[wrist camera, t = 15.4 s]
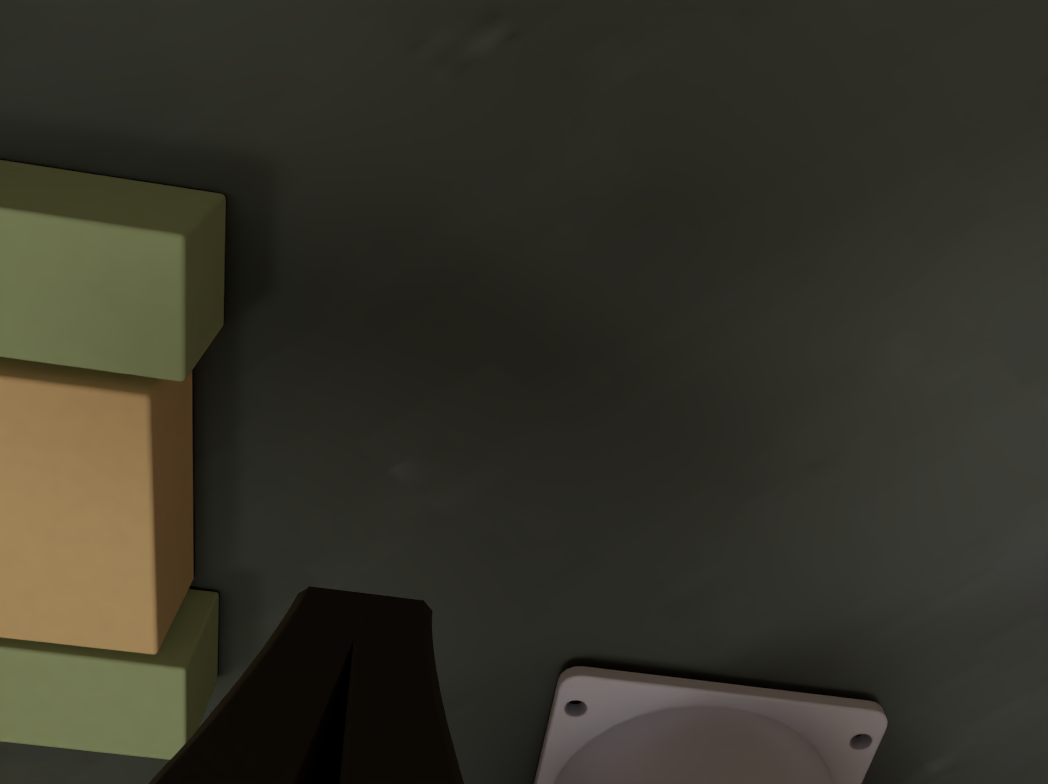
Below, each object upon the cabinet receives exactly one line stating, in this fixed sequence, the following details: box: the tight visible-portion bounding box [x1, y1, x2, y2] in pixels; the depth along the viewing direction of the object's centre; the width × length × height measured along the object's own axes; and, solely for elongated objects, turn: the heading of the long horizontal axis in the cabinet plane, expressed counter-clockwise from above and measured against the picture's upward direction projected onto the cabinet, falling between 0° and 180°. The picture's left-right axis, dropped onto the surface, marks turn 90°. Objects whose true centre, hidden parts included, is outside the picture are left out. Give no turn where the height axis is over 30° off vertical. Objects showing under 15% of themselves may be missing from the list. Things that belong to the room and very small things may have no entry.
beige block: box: [0, 357, 194, 654], centre depth 19 cm, size 6×5×2 cm
